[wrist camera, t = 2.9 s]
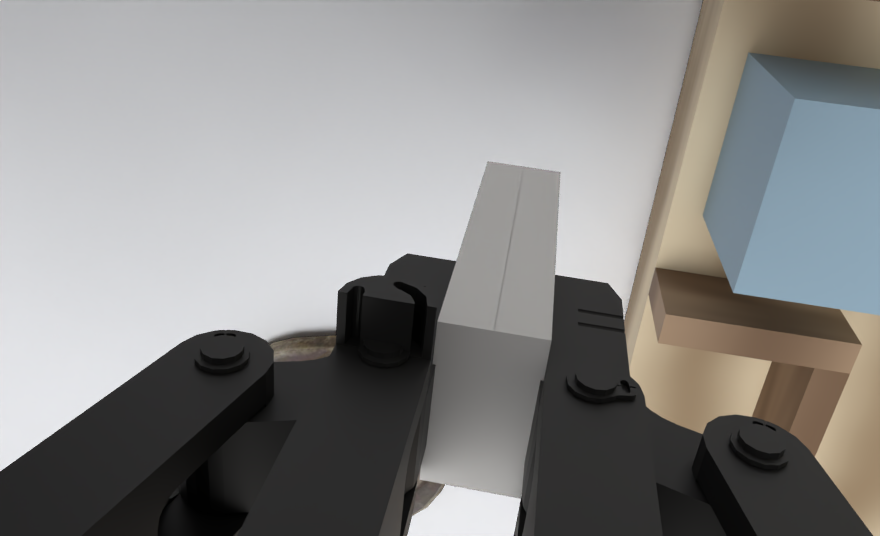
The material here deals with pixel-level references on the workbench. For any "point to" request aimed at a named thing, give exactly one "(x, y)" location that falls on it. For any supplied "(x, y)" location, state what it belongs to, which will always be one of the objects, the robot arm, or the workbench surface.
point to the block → (801, 184)
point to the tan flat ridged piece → (743, 316)
